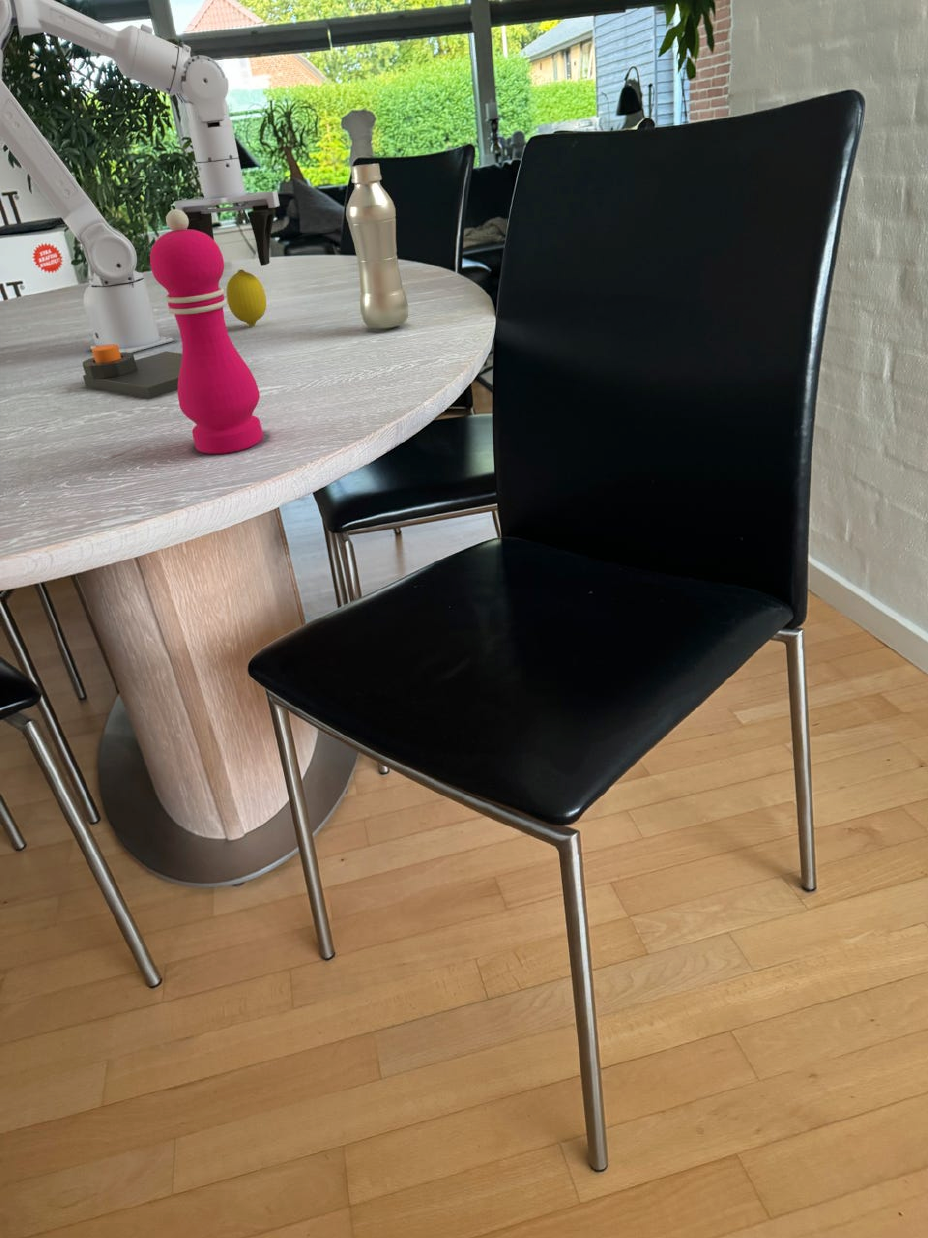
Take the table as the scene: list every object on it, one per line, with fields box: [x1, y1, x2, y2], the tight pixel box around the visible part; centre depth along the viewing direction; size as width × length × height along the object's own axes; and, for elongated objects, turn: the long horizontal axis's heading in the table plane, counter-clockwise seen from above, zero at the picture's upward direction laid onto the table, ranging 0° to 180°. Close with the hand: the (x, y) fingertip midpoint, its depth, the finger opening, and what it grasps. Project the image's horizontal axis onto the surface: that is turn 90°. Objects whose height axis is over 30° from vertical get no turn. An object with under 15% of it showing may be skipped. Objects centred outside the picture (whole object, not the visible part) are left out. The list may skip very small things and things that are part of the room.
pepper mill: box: [149, 208, 264, 455], centre depth 76 cm, size 7×7×20 cm
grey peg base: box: [82, 351, 182, 400], centre depth 105 cm, size 14×12×3 cm
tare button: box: [91, 344, 121, 363], centre depth 104 cm, size 3×3×2 cm
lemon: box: [226, 269, 267, 327], centre depth 127 cm, size 6×6×8 cm
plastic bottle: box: [345, 163, 409, 330], centre depth 114 cm, size 6×7×20 cm
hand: (240, 266), depth 125 cm, fingers open, 7 cm apart
